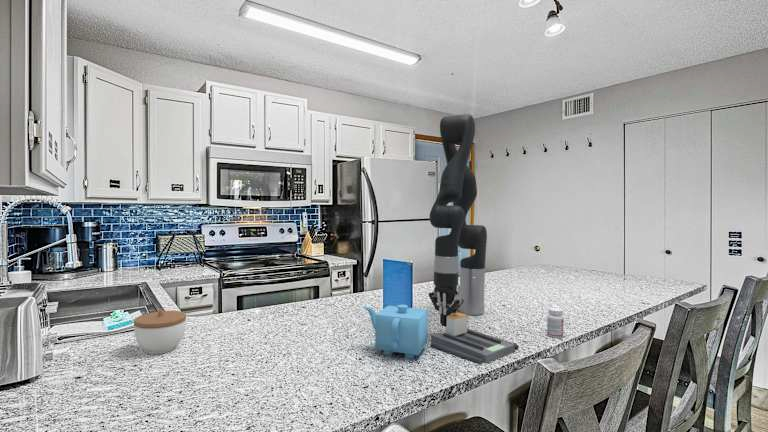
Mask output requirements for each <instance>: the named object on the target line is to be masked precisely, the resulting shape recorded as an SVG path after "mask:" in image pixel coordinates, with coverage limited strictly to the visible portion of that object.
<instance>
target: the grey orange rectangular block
mask: <svg viewBox="0 0 768 432" xmlns="http://www.w3.org/2000/svg"><path fill="white" fill-rule="evenodd" d="M467 329H468V314H463V313H461V312H458V313H457V312H456V313H452V314H450V315H449V316H447V324H446V330H445V331H446V334H449V335H452V336H457V335H460V334H463V333H466V332H467Z"/></svg>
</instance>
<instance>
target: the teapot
mask: <svg viewBox="0 0 768 432" xmlns="http://www.w3.org/2000/svg"><path fill="white" fill-rule="evenodd" d="M362 308H363V309H365V310H366V311H367V312H368V314H369V315H370V320H371V324H372V327H373V328H372V329H374V332H375V333H374V335H375V336H374V349H375V350H379V351H383V352H382V354H383V356H387V357H388V356H392V355H393V354H394V353H400V354H404V358H405V357H406V359H408V360H409V359H410V360H412V358H413V359H415V358H414V357H415V356H420V354H421V353H422V351H423V350H424V348H425V347H426V345H427V344H428V342H429V339H428V337H429V336H428V335H429V332H428V331H429V309H427V308H426V309H425V308H417V307H409V306H408V305H407V304H398V305H397V306H396V305H387V306H386V307H384V308H383V309H382V310H380V311H379V312H377V313H376V311H375V310H374V308H372V307H370V306H362Z"/></svg>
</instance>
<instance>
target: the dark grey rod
mask: <svg viewBox="0 0 768 432" xmlns="http://www.w3.org/2000/svg"><path fill="white" fill-rule="evenodd" d="M467 329H468V330H471V331H474V332H477V333H480V334H483V335H486V336H489V337H492V338H496V339H499V340H502V341H505V342H508V343H511V344H514V345H515V349H516V350H518V349H519V347H520V346H519V345H518V344H516V343H514V342H510V341H507V340H504V339H500V338H497V337H495V336H492V335H488V334H485V333H482V332H479V331H476V330H473V329H470V328H467Z"/></svg>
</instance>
